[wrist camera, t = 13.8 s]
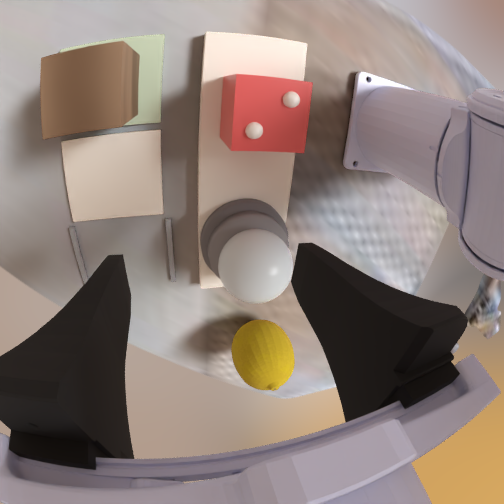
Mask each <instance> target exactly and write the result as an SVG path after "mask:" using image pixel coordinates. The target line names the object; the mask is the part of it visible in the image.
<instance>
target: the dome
mask: <svg viewBox="0 0 504 504" xmlns="http://www.w3.org/2000/svg"><path fill="white" fill-rule="evenodd" d="M208 256H209V261H210V265H211V268H212V270H213V272H214V273H215V275H216V276H217V277H218V278H219V279H221V281H222V284H223V285H224V287H225V288H226V290H227V291H228V292H229V293H230V294H231V295H232V296H234V297H235V298H237V299H239V300H241V301H243V302H247V303H255V304H258V303H264V302H268V301H270V300H273V299H274V298H276V297H277V296H279V295H280V294H281V293H282V292H283V291H284V290H285V289H286V287H287V286H288V284H289V282H290V279H291V276H292V272H293V260H292V256H291V253H290V251H289V242H288V238H287V235H286V233H285V232H284V230H283V229H282V227H281V226H280V224H279V223H278V222H277V221H276V220H275V219H274V218H273V217H271V216H270V215H268V214H266V213H263V212H258V211H244V212H239V213H236V214H233V215H231V216H229V217H228V218H226V219H225V220H223V221H222V222H221V223H220V224H219V225H218V226H217V227H216V228H215V229H214V231H213V232H212V234H211V236H210V239H209V242H208Z"/></svg>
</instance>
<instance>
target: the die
mask: <svg viewBox="0 0 504 504" xmlns="http://www.w3.org/2000/svg"><path fill="white" fill-rule="evenodd" d="M312 85H313V83H312V82H306V81H299V80H293V79H285V78H277V77H268V76H258V75H246V74H233V75H228V76H224V77H223V89H222V104H221V122H220V138H221V140H222V141H223V142H224V143H225V144H226V145H227V147H228V148H229V149H230V150H231V151H267V152H290V153H304V151H305V143H306V136H307V128H308V120H309V112H310V103H311V94H312Z"/></svg>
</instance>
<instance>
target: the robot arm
mask: <svg viewBox="0 0 504 504" xmlns="http://www.w3.org/2000/svg"><path fill="white" fill-rule="evenodd" d="M366 77H368V79H369V80H368V82H367V81H366ZM354 161H356V163H355V165H353V162H354ZM343 165H344V167H345V168H347V169H353V170H364V171H374V172H383V173H390V174H391V175H393V176H395V177H397V178H398V179H400V180H402V181H403V182H405V183H407V184H409V185H410V186H412V187H414V188H415V189H417V190H418V191H420V192H422V193H423V194H425V195H426V196H428V197H430V198H431V199H433V200H434V201H436V202H437V203H439V204H440V205H442V206H443V207H445V208H446V210H447V221H449V222H450V223H452V224H453V225H454V226H455V227H457V228H458V229H459V233H458V241H459V246H460V248H461V251H462V252H463V254H464V255H465V257H466V258H467V259H468V260H469V262H470V263H471V264H472V265H473V266H475V267H476V268H477V269H478V270H480V271H481V272H483V273H484V274H486V275H488V276H490V277H492V278H494V279H498V280H501V281H504V91H502V90H497V89H488V88H479V89H476V90H475V91H474V92H473V93H472V94H470V95H468V97H467V103H466V102H462V101H459V100H455V99H451V98H447V97H443V96H439V95H435V94H431V93H426V92H421V91H417V90H415V89H412V88H410V87H407V86H404V85H402V84H399V83H396V82H393V81H391V80H388V79H385V78H382V77H379V76H376V75H372V74H369V73H366V72H358V73H357V74H356V77H355V86H354V94H353V101H352V109H351V116H350V123H349V129H348V135H347V142H346V148H345V153H344V159H343ZM291 283H292V286H293V289H294V292H295V294H296V297H297V300H298V302H299V304H300V306H301V308H302V309H303V311H304V313H305V315H306V317H307V319H308V321H309V322H310V324H311V326H312V328H313V330H314V332H315V334H316V335H317V337H318V339H319V341H320V343H321V345H322V347H323V350H324V352H325V355H326V358H327V360H328V363H329V365H330V368H331V371H332V374H333V377H334V380H335V383H336V386H337V390H338V393H339V397H340V400H341V404H342V408H343V412H344V416H345V421H346V423H343V424H340V425H337V426H334V427H331V428H328V429H325V430H322V431H319V432H315V433H312V434H309V435H305V436H301V437H298V438H294V439H291V440H286V441H282V442H278V443H274V444H269V445H265V446H260V447H255V448H250V449H244V450H239V451H232V452H226V453H219V454H211V455H202V456H193V457H180V458H162V459H134V455H133V450H132V444H131V438H130V432H129V424H128V416H127V405H126V393H125V359H126V349H127V341H128V333H129V325H130V317H131V293H130V288H129V284H128V279H127V274H126V269H125V264H124V259H123V254H122V255H108V256H107V257H106V259H105V260H104V261H103V262H102V263H101V265H100V266H99V267H98V268H97V270H96V271H95V272H94V273H93V275H92V276H91V277H90V278H89V280H88V281H87V282H86V283H85V284H84V286H83V287H82V288H81V289H80V290H79V291H78V292H77V293H76V295H75V296H74V297H73V298H72V299H71V300H70V301H69V302H68V303H67V305H66V306H65V307H64V308H63V309H62V310H61V311H59V312H58V313H57V314H56V316H54V318H52V319H51V320H50V321H49V322H47V323H46V324H45V325H44V326H43V327H42V328H40V329H39V330H38V331H37V332H36V333H34V334H33V335H32V336H30V337H29V338H28V339H26V340H25V341H23V342H22V343H21V344H19V345H18V346H16V347H15V348H13V349H12V350H10V351H8V352H7V353H5V354H3V355H2V356H0V420H1V421H2V422H3V423H4V424H5V425H6V426H7V427H9V428H10V429H11V434H10V437H8V436H7V435H4V434H2V433H0V502H1V503H4V504H432V503H431V501H430V499H429V497H428V495H427V493H426V491H425V489H424V487H423V485H422V483H421V481H420V479H419V477H418V475H417V473H416V472H415V470H414V468H413V466H412V464H411V462H413V461H415V460H416V459H418V458H420V457H421V456H423V455H424V454H426V453H427V452H429V451H430V450H432V449H433V448H435V447H436V446H438V445H439V444H440V443H442V442H443V441H445V440H446V439H447V438H449V437H450V436H451V435H453V434H454V433H455V432H457V431H458V430H459V429H461V428H462V427H463V426H464V425H466V424H467V423H468V422H469V421H470V420H471V419H473V418H474V417H475V416H476V415H477V414H479V413H480V412H481V411H482V410H483V409H484V408H485V407H486V406H487V405H489V404H490V403H491V402H492V401H493V400H494V399H495V398H496V397H497V396H498V395H499V394H500V389H499V388H498V387H497V385H496V384H495V382H494V381H493V380H492V378H491V377H490V376H489V374H488V373H487V371H486V370H485V369H484V367H483V366H482V365H481V363H480V362H479V361H478V359H477V358H476V357H475V356H474V354H471V355H469V356H468V357H466V358H464V359H463V360H461V361H460V362H458V363H457V364H456V365H455V366H454V365H453V363H452V362H451V361H452V360H453V359H454V356H453V354H452V353H451V352H450V351H451V350H452V348H453V347H454V346H455V344H456V343H457V341H458V340H459V339H460V337H461V336H462V334H463V332H464V331H465V328H466V327H467V322H468V319H467V317H466V316H465V314H464V313H463V312H462V311H461V310H460V309H459V308H458V307H457V306H453V305H449V304H443V303H439V302H434V301H430V300H427V299H423V298H420V297H417V296H414V295H411V294H408V293H405V292H403V291H400V290H397V289H395V288H393V287H390V286H388V285H386V284H384V283H382V282H380V281H377V280H376V279H374V278H372V277H370V276H368V275H366V274H364V273H363V272H361V271H359V270H357V269H355V268H354V267H352V266H350V265H349V264H347V263H345V262H344V261H342V260H341V259H339V258H337V257H336V256H334V255H333V254H331V253H329V252H328V251H326V250H324V249H323V248H321V247H319V246H317V245H315V244H313V243H299V245H298V250H297V255H296V260H295V265H294V270H293V275H292V280H291ZM214 478H216V479H214ZM205 479H210V480H205ZM196 480H205V481H199V482H192V483H185V484H184V483H183V481H196Z"/></svg>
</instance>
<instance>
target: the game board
mask: <svg viewBox="0 0 504 504" xmlns="http://www.w3.org/2000/svg"><path fill="white" fill-rule="evenodd" d="M164 39H165V34H160V35H146V36H135V37H126V38H119V39H112V40H105V41H99V42H94V43H88V44H84V45H79V46H74V47H70V48H66V49H62V50H60V53H61V52H65V51H69V50H74V49H78V48H83V47H88V46H93V45H99V44H104V43H111V42H118V41H124V42H125V43H127V44H128V45H129V46H130V47H131V48H132V49H133V50H135V51H136V52H137V53H138V54H139V55H140V61H139V84H138V115H137V116H135V117H134V118H133V119H131V120H130V121H129V122H127V123H126V124H125V125H135V124H146V123H161V91H162V68H163V52H164ZM306 52H307V43H302V42H296V41H291V40H285V39H279V38H272V37H265V36H257V35H248V34H237V33H223V32H206V33H205V35H204V47H203V60H202V75H201V92H200V113H199V143H198V247H199V278H200V286H201V289H203V288H215V287H224V285H223V284H222V281H221V279H219V278H218V277H217V276H216V275H215V273H214V272H213V270H212V268H211V265H210V261H209V256H208V242H209V239H210V236H211V234H212V232H213V231H214V229H215V228H216V227H217V226H218V225H219V224H220V223H221V222H222V221H223V220H225V219H226V218H228V217H229V216H231V215H233V214H236V213H239V212H244V211H258V212H263V213H266V214H268V215H270V216H271V217H273V218H274V219H275V220H276V221H277V222H278V223H279V224H280V226H281V227H282V229H283V230H284V232H285V233H286V235H287V238H288V231H287V227H286V218H287V211H288V204H289V196H290V189H291V182H292V174H293V167H294V159H295V153H290V152H267V151H231V150H230V149H229V148H228V147H227V145H226V144H225V143H224V142H223V141H222V140H221V138H220V122H221V104H222V89H223V77H224V76H228V75H233V74H246V75H258V76H268V77H277V78H285V79H293V80H299V81H304V73H305V63H306ZM123 126H124V125H123ZM61 146H62V155H63V164H64V172H65V179H66V185H67V192H68V197H69V203H70V208H71V213H72V218H73V222H78V221H87V220H97V219H108V218H119V217H131V216H143V215H157V214H164V210H163V192H162V168H161V129H158V130H144V131H133V132H123V133H114V134H105V135H98V136H91V137H84V138H78V139H72V140H66V141H62V142H61ZM165 222H166V235H167V247H168V257H169V267H170V277H171V282H176V277H175V266H174V255H173V243H172V229H171V218H165ZM69 231H70V235H71V239H72V243H73V247H74V251H75V255H76V258H77V262H78V265H79V269H80V272H81V275H82V279H83V282H84V284H85V283H86V282H87V281H88V276H87V273H86V270H85V266H84V262H83V259H82V255H81V251H80V247H79V243H78V239H77V235H76V231H75V226H72V227H70V228H69Z"/></svg>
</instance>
